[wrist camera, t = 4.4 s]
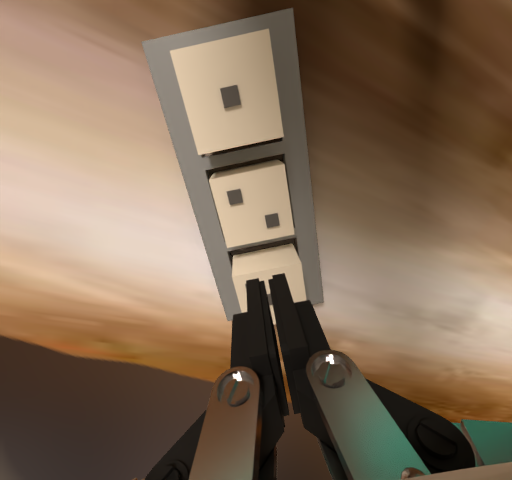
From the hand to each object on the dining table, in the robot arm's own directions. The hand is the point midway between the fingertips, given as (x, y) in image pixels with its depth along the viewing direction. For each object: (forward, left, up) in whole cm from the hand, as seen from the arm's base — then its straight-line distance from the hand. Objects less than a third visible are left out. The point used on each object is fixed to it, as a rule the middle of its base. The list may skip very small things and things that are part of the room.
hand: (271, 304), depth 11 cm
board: (-1, 0, -15) cm, 15 cm away
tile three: (+7, 0, -14) cm, 15 cm away
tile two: (-1, 0, -15) cm, 15 cm away
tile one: (-9, 0, -14) cm, 16 cm away
